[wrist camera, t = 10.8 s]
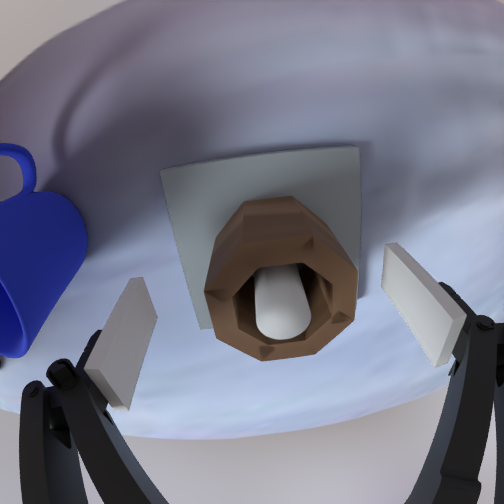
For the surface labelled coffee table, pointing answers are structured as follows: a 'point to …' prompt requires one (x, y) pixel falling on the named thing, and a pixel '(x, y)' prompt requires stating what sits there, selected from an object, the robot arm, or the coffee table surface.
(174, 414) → the coffee table surface
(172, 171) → the square plate with peg
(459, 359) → the robot arm
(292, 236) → the ring
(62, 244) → the mug
